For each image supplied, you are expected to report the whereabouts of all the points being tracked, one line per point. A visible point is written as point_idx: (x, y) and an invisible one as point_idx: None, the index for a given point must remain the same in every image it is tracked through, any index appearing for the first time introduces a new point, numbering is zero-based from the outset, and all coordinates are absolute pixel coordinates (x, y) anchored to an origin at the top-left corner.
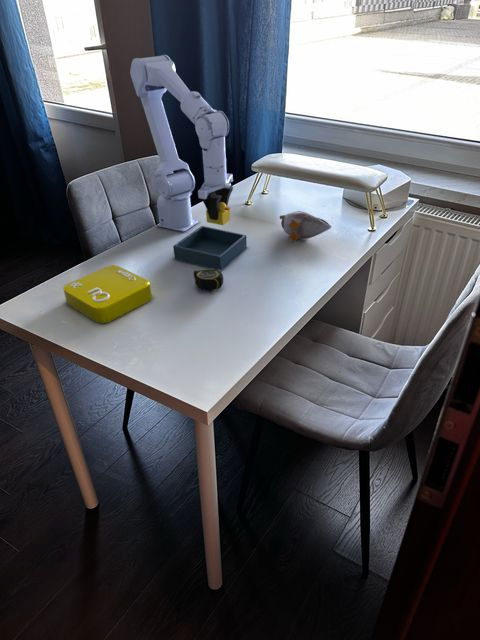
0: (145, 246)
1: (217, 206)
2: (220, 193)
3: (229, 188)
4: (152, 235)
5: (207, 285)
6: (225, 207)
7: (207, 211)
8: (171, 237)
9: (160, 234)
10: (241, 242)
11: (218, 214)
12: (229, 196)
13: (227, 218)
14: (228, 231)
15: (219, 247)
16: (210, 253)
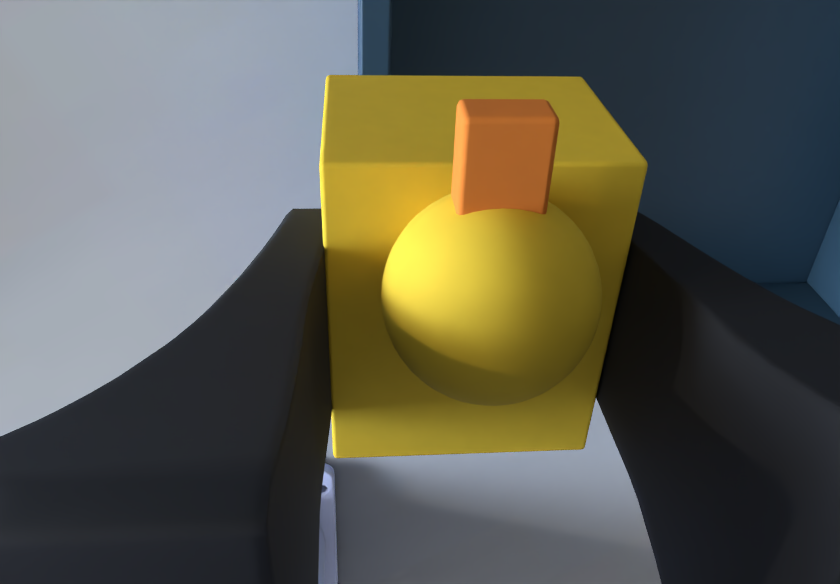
0: (641, 531)
1: (789, 324)
2: (309, 578)
3: (219, 557)
4: (472, 576)
5: None
6: (524, 206)
7: (585, 425)
8: (450, 483)
9: (436, 552)
10: None
11: (619, 234)
12: (159, 362)
13: (425, 96)
14: (365, 36)
15: (509, 42)
16: (672, 61)
